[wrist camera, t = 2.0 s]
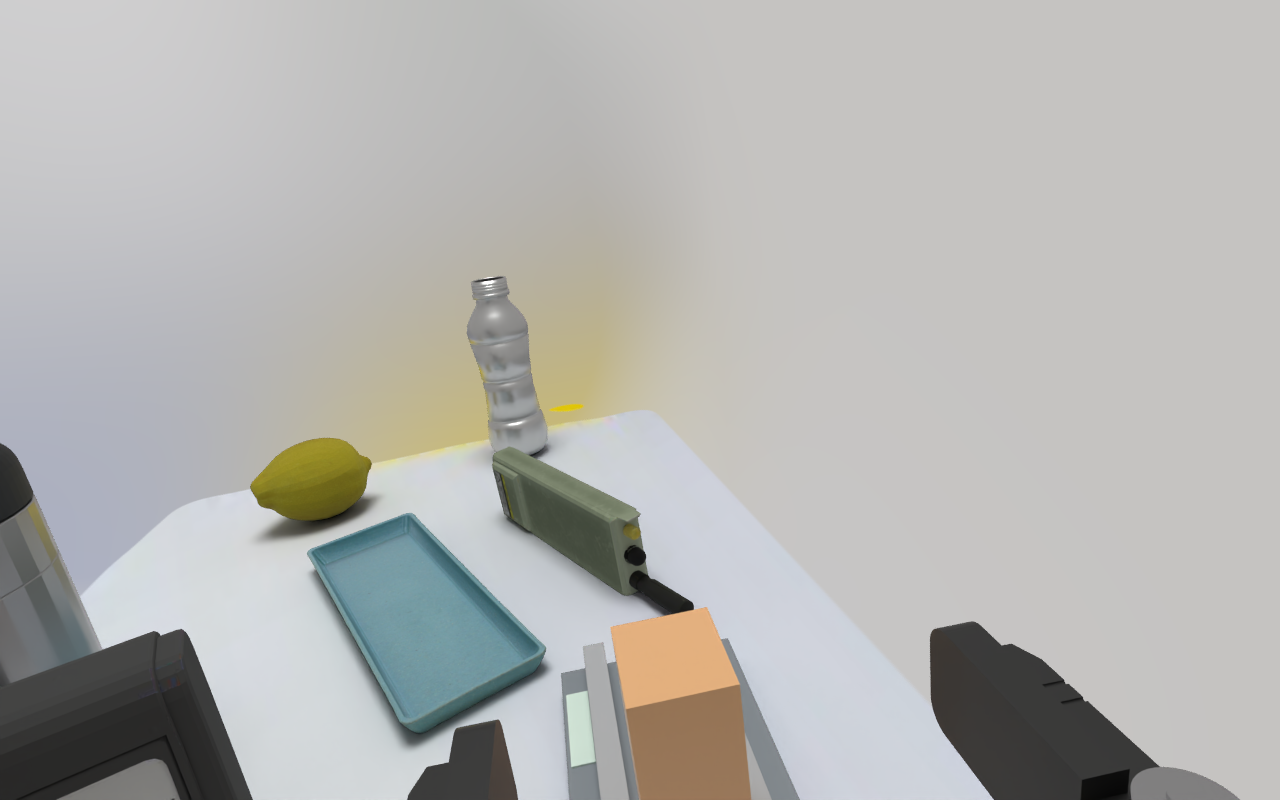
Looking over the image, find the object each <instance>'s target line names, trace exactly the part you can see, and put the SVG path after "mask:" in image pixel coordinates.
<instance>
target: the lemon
mask: <svg viewBox="0 0 1280 800" xmlns="http://www.w3.org/2000/svg"><path fill="white" fill-rule="evenodd" d="M371 465H372V463H371V461H370V459H368V458H367V457H364V456H361V455H359V453H358V452H357V451H356V450H355V449H354V447H353V446H351V445H350V444H349V443H347V442H346V441H343V440H340V439H335V438H319V439H312V440H308V441H305V442H302V443H299V444H296V445H294V446H292V447H290V448H288V449H286V450H285V451H283V452H282V453H280V454H279V455H278V456H276V457H275V458H274V459H273V460H272V461H271V462H270V464H269V465H268V466H267V467H266V468H265V469H264V470H263V472H261V473H260V474H259V476H258V477H257V478H256V479H255V480H254V481H253V482H252V484H251V486H250V488H251V491H252V492H253V494H254V495H255V497H256V498H257V501H258V504H259V505H260V506H261V507H264V508H269V509H272V510H275V511H276V512H277V513H279V514H281V515H282V516H285V517H287V518H290V519H295V520H304V521H311V520H320V519H326V518H330V517H333V516H336V515H338V514H340V513H342V512H343V511H345V510H347V509H348V508H349V507H351V506H352V505H353V504H354V503H356V502H357V501H358V500H359V498H360V497H361V496H362V495H363V493H364V491H365V489H366V484H367V476H368V472H369V470H370V469H371Z"/></svg>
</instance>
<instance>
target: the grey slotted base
mask: <svg viewBox="0 0 1280 800" xmlns="http://www.w3.org/2000/svg"><path fill="white" fill-rule="evenodd" d="M721 641H722V644H723V646H724V648H725V651H726V653H727V655H728V658H729V660H730V662H731V665H732V667H733V669H734V672H735V674H736V676H737V679H738V681H739V683H740V690H741V700H742V710H743V720H744V730H745V740H746V750H747V760H748V770H749V780H750V790H751V800H800V799H799V797H798V795H797V793H796V790H795V788H794V786H793V784H792V781H791V779H790V777H789V775H788V772H787V770H786V768H785V766H784V763H783V761H782V759H781V757H780V755H779V752H778V750H777V748H776V746H775V743H774V741H773V739H772V737H771V734H770V732H769V730H768V728H767V725H766V723H765V721H764V719H763V716H762V714H761V712H760V710H759V707H758V705H757V703H756V701H755V698H754V696H753V694H752V692H751V689H750V687H749V685H748V683H747V680H746V678H745V676H744V674H743V671H742V669H741V667H740V665H739V663H738V660H737V658H736V656H735V654H734V651H733V649H732V647H731V645H730V642H729V640H728V638H727V639H722V640H721ZM583 652H584V661H585V668H584V669H580V670H575V671H570V672H565V673H561V679H562V694H563V709H564V724H565V739H566V754H567V769H568V784H569V799H570V800H639V797H638V791H637V785H636V779H635V773H634V767H633V761H632V754H631V748H630V742H629V736H628V730H627V724H626V718H625V712H624V706H623V700H622V694H621V688H620V682H619V676H618V670H617V664H616V662H613V663H608V664H607V661H606V655H605V649H604V643H603V642H602V643H598V644H593V645H588V646H583Z"/></svg>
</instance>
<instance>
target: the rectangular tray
mask: <svg viewBox="0 0 1280 800" xmlns="http://www.w3.org/2000/svg"><path fill="white" fill-rule="evenodd" d="M307 555H308V557H309V558H310V560H311V562H312V563H313V565H314V567H315V569H316V570H317V572H318V574H319V576H320V578H321V579H322V581H323V583H324V585H325V586H326V588H327V590H328V591H329V593H330V595H331V597H332V599H333V601H334V603H335V604H336V606H337V608H338V610H339V611H340V613H341V615H342V617H343V619H344V621H345V622H346V624H347V626H348V628H349V629H350V631H351V633H352V635H353V637H354V638H355V640H356V642H357V644H358V646H359V648H360V649H361V651H362V653H363V655H364V657H365V659H366V660H367V662H368V664H369V666H370V668H371V670H372V671H373V673H374V675H375V677H376V679H377V680H378V682H379V684H380V686H381V688H382V689H383V691H384V693H385V695H386V697H387V699H388V700H389V702H390V704H391V706H392V708H393V709H394V712H395V714H396V716H397V718H398V720H399V722H400V723H401V724H403V725H404V726H405V727H407V728H408V729H410V730H411V731H413V732H415V733H424V732H426V731H428V730H430V729H431V728H433V727H435V726H437V725H438V724H440V723H442V722H444V721H445V720H447V719H449V718H451V717H453V716H455V715H456V714H458V713H460V712H462V711H464V710H466V709H467V708H469V707H471V706H473V705H475V704H476V703H478V702H480V701H482V700H484V699H486V698H487V697H489V696H491V695H493V694H495V693H497V692H499V691H500V690H502V689H504V688H506V687H508V686H510V685H512V684H513V683H515V682H517V681H519V680H521V679H523V678H525V677H526V676H528V675H530V674H532V673H533V672H535V671H536V669H537V667H538V666H539V664H540V662H541V660H542V658H543V656H544V654H545V652H546V647H545V646H544V645H543V644H542V643H541V642H540V641H539V640H538V639H537V638H536V637H535V636H534V635H533V634H532V633H531V632H530V631H529V630H528V629H527V628H526V627H525V626H524V625H523V624H522V623H521V622H520V621H518V620H517V618H516V617H515V616H514V615H513V614H512V613H511V612H510V611H509V610H508V609H506V608H505V607H504V606H503V605H502V604H501V603H500V602H499V601H498V600H497V599H496V598H495V597H494V596H493V595H492V594H491V593H490V592H489V591H488V590H487V588H486V587H485V586H483V585H482V584H481V583H480V582H479V580H478V579H477V578H476V577H475V576H474V575H473V574H472V573H471V572H470V571H469V570H468V569H467V568H466V567H465V566H464V565H463V564H462V563H461V562H460V561H459V560H458V559H457V558H456V557H455V556H454V555H453V554H452V553H451V552H450V551H449V550H448V549H447V548H446V547H445V546H444V545H443V544H442V543H441V542H440V541H439V540H438V539H437V538H436V537H435V536H434V535H433V534H432V533H431V532H430V531H429V530H428V529H427V528H426V527H425V526H424V525H423V524H422V523H421V522H420V521H419V520H418V519H417V517H416V516H415V515H414V514H412V513H406V514H403V515H401V516H398V517H395V518H393V519H390V520H387V521H385V522H382V523H379V524H376V525H374V526H371V527H368V528H366V529H363V530H360V531H358V532H355V533H353V534H350V535H347V536H344V537H342V538H339V539H336V540H334V541H331V542H328V543H326V544H323V545H320V546H317V547H315V548H312V549H310V550H309V551H308V552H307Z"/></svg>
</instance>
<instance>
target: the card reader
mask: <svg viewBox="0 0 1280 800" xmlns="http://www.w3.org/2000/svg"><path fill="white" fill-rule="evenodd" d="M0 800H253V799H252V797H251V794H250V791H249V789H248V786H247V784H246V781H245V778H244V776H243V773H242V771H241V768H240V765H239V763H238V760H237V758H236V755H235V752H234V750H233V747H232V745H231V742H230V739H229V737H228V734H227V732H226V729H225V726H224V724H223V721H222V719H221V716H220V714H219V711H218V708H217V706H216V703H215V701H214V698H213V695H212V693H211V690H210V688H209V685H208V682H207V680H206V677H205V675H204V672H203V670H202V667H201V665H200V662H199V660H198V657H197V655H196V652H195V650H194V647H193V645H192V643H191V640H190V638H189V636H188V635H187V633H186V632H185V631H184V630H182V629H180V630H175V631H173V632H170V633H167V634H164V635H162V636H160V634H159V633H158V632H155V631H153V632H150V633H147V634H145V635H142V636H139V637H136V638H134V639H131V640H128V641H125V642H123V643H120V644H117V645H114V646H112V647H109V648H106V649H103V650H101V651H98V652H95V653H92V654H90V655H87V656H84V657H81V658H79V659H76V660H73V661H70V662H68V663H65V664H62V665H59V666H57V667H54V668H51V669H48V670H46V671H43V672H40V673H37V674H35V675H32V676H29V677H27V678H24V679H21V680H18V681H16V682H13V683H10V684H7V685H5V686H2V687H0Z"/></svg>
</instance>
